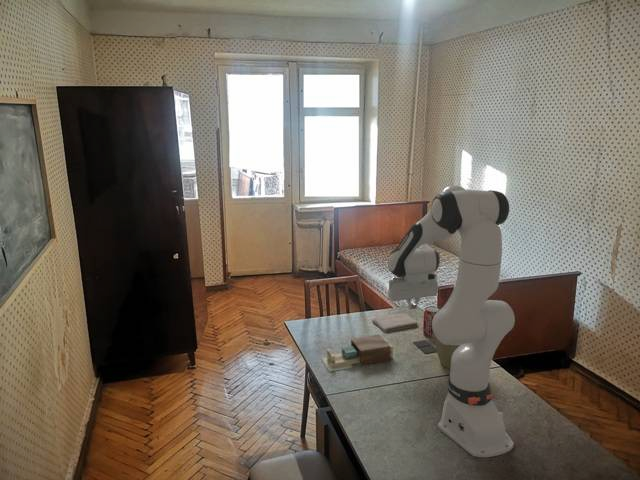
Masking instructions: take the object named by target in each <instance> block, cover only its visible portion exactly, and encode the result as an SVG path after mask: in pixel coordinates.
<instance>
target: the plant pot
mask: <svg viewBox="0 0 640 480" xmlns="http://www.w3.org/2000/svg"><path fill="white" fill-rule="evenodd" d="M432 338H433V341H434V347H435V348H436V350H437V352H436V354H437V357H438V359H439V362H440V365H441V366H442V367H444V368H446V369H451V357H452V354H453V352H454V351H455V350H456V349H457V348H458V347H459V346H460V345H445V344H442V343H441V342H440V341H439V340H438V339H437V338H436V337H435V335H434V333H433V337H432Z"/></svg>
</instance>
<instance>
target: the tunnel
mask: <svg viewBox="0 0 640 480" xmlns="http://www.w3.org/2000/svg"><path fill="white" fill-rule="evenodd" d="M385 340H386V339H384V338H383V336H381V335H380V334H375V335H368V336H363V337H362V336H361V337H356V338H351V339H350V346H353V347H354V349H355V350H356V351H360V363H359V366H360V367H365V366H366V367H367V366H372V365H373V366H374V365H377V364H383V363H389V362H391V357H390V345H389V344H388V343H387V342H386V341H385Z"/></svg>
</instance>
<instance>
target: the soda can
mask: <svg viewBox="0 0 640 480" xmlns="http://www.w3.org/2000/svg"><path fill="white" fill-rule="evenodd" d="M439 310H440V308H439V307H438V306H437V307H436V306H434V305H433V306H431V305H430V306H426V307H425V310H424V312H423V320H422V321H423V323H422V324H423V325H422V332H423V333H422V334H423V335H425V336H426V337H428V338H434V337H433V329H432V321H433V317H434V315H435V314H436V313H437V312H438V311H439Z"/></svg>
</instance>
